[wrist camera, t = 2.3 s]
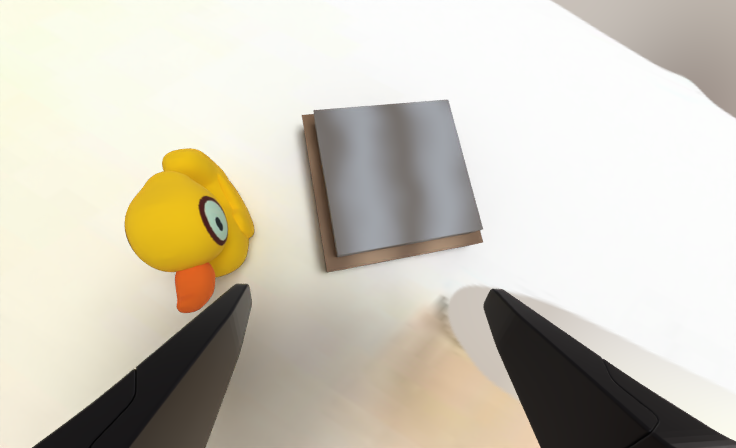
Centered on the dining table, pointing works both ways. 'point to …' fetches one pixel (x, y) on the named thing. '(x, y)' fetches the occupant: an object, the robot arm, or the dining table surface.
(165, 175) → the duckling
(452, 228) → the metal-topped wooden square
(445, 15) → the dining table surface
